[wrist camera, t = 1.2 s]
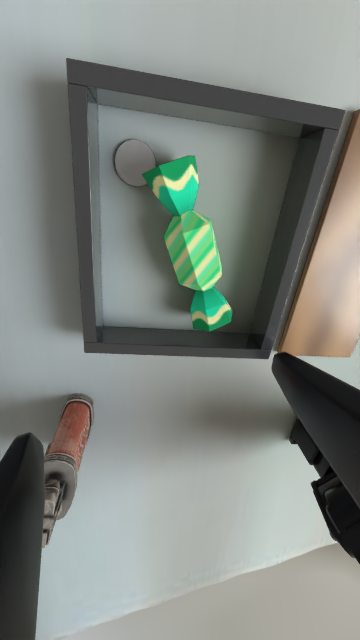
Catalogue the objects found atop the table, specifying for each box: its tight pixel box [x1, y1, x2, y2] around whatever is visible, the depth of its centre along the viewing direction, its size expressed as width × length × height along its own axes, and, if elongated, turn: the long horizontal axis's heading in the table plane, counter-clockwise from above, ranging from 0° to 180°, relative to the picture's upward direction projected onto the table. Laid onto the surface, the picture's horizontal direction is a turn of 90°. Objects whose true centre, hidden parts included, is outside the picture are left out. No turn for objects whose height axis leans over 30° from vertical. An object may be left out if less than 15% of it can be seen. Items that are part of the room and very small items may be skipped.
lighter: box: [42, 394, 94, 548], centre depth 23 cm, size 8×3×10 cm, turn 163°
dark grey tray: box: [66, 58, 345, 359], centre depth 19 cm, size 16×18×3 cm
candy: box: [142, 156, 233, 332], centre depth 19 cm, size 12×3×4 cm
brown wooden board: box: [278, 109, 360, 357], centre depth 22 cm, size 8×20×1 cm, turn 174°
